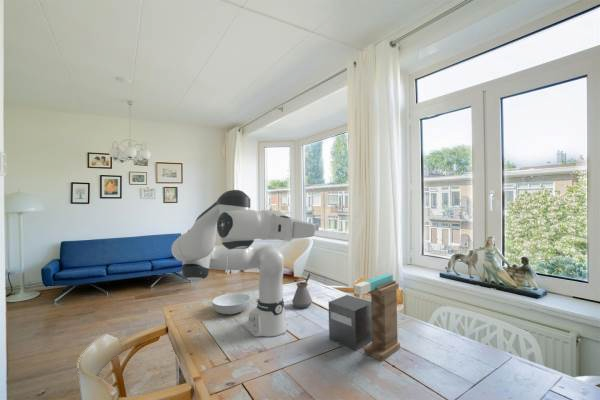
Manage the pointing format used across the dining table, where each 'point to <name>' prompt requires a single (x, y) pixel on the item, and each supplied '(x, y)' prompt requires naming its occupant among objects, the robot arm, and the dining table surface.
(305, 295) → the coffee pot
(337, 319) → the switch box
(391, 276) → the teal bar
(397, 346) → the post
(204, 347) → the dining table surface
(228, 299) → the serving bowl
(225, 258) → the robot arm
